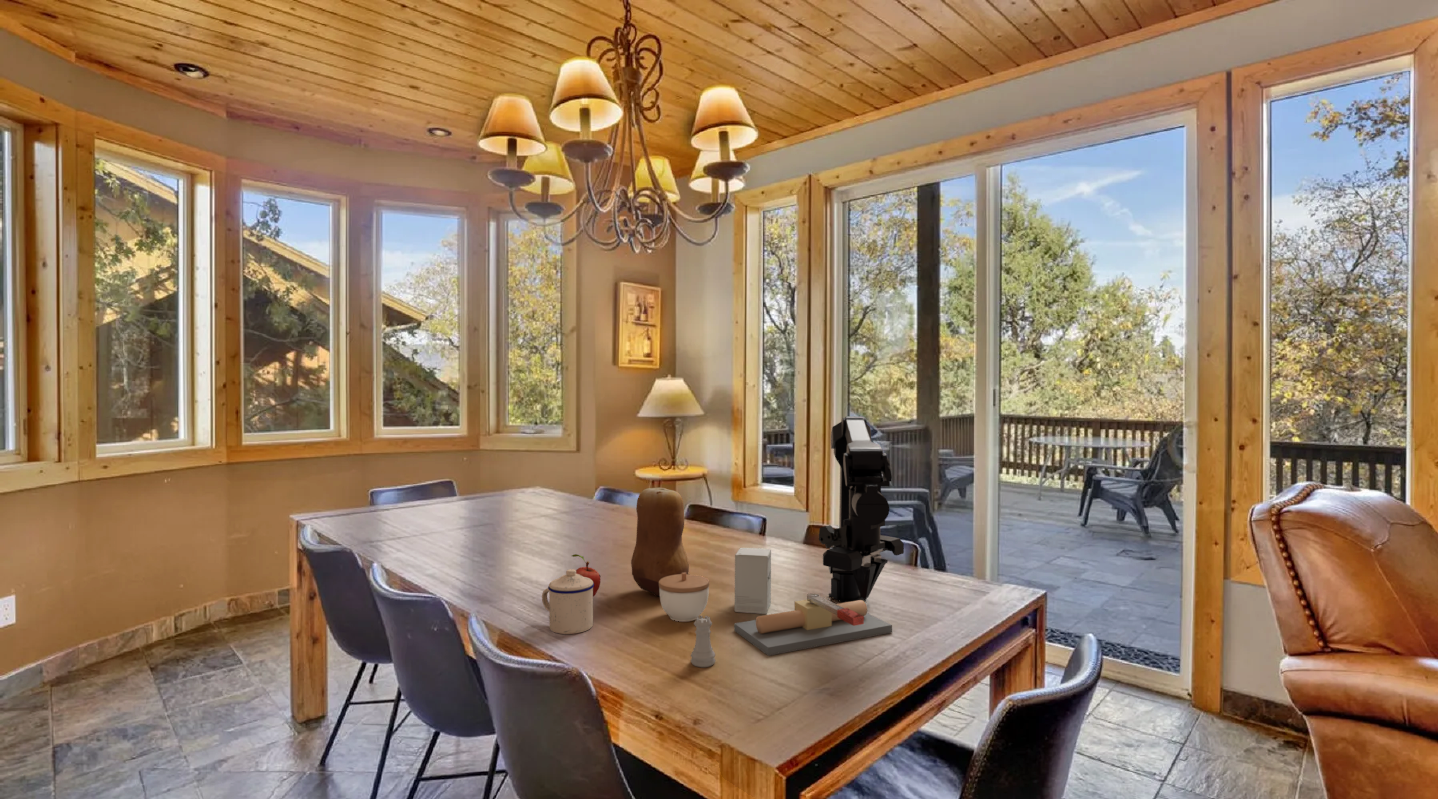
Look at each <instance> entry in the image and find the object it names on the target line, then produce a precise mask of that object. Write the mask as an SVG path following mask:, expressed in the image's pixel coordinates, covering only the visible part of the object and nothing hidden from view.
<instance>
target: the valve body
mask: <svg viewBox="0 0 1438 799" xmlns="http://www.w3.org/2000/svg"><path fill="white" fill-rule="evenodd" d="M836 604H837V605H839V606H841V607H843V608H848V609H850V610H852V611H854V612H856V613H858V614H860V615H862V616H864V624H861V625H855V626H853V625H851V624H849V623H847V622H845V621H844V620H842V619H840V618H838V617H837V615H835V614H833V613H832V612H830V611H828V610H826V609H824V608H822V607H820V606H818V605H816V604H814V603H812V602H809V601H807V599H802V600H796V601H794V610H791V611H790V610H789V611H784V612H783V611H782V612H778V613H771V614H762V615H758V616H756V618H755V619H753V620H747V621H739V622H735V623H733V624H734V626H733V628H734V632H735V633H736V634H738V635H739V636H740V637H742V638H744V639H745V640H746V641H747V642H749V643H750V644H751V645H753V646H754V647H756V648H757V649H759V650H760V652H761V651H762V652H763V654H765V655H766V656H769V657H770V656H774V655H775V656H776V655H778V654H779V655H781V654H784V653H790V652H795V651H799V650H805V649H806V650H807V649H812V648H817V647H821V646H827V645H833V644H837V643H842V642H843V643H844V642H849V641H853V640H854V641H855V640H861V639H864V638H869V637H875V636H881V635H885V634H891V633H890V632H892V633H893V624H891V623H889V622H888V621H885V620H883V619H881V618H879V617H877V616H875V615H872V614H870V613H868V607H867V606H868V605H867V604H866V603H865V600H858V601H851V602H845V603H842V602H840V603H836Z"/></svg>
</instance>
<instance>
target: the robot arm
mask: <svg viewBox="0 0 1438 799" xmlns="http://www.w3.org/2000/svg"><path fill="white" fill-rule="evenodd" d="M867 422H868V421H867V418H866V417H864V416H853V415H852V416H848V415H847V416H844V417H841V421H840V422H838V423H836V424H834V425H833V426H832V427H831V433H830V449H832V450H833V455H834V458H835V460H836V462H837V463H838V465H839V467H840V468H839V471H840V472H839V474H840V475H839V477H840V478H839V527H838V528H834V527H833V526H832V525H825V526H822V527H819V531H818V540H819V542H820V543H821V545H825V548H826V550H825V551H824V552H823V554H822V566H825V567H828V571H829V574H832V577H831V578H830V592H829V593H828V596H829V597H830V598H833V599H834V600H837V601H838V602H840V603H845V602H851V601H858V600H863V601H865V600H868V598H869V596H870V594H871V592H872V591H873V588H874V587H875V584H876V582H877V580H878V579H879V576H880V574H881V573H882V571H883V569H884V567H885V566H886V564H888V561H889V560H888V559H885V558H882V555H881V553H883V552H885V551H889V552H892V554H893V556H896V557H897V556H901V555H902V554H904V552H905V549H904V548H905V544H904V542H903V541H902V540H901V538H899V537H894V536H888V535H884V534H881V527H884V526H886V519H887V518H888V516H889V514H890V505H889V502H888V499H886V498H885V496H884V495H883V494H882V487H884V488H885V487H886V488H887V487H889V488H890V486H891V485H890V482H892V479H893V477H892V471H891V465H890V464H891V463H890V460H889V458H888V454H886V452H885V453H884V451H883V448H882V447H881V445H880V444H879V443H877V442H876V443H875V442H872V431H871V430H872V429H871V426H870V425H869V424H868V423H867Z"/></svg>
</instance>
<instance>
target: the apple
mask: <svg viewBox="0 0 1438 799" xmlns="http://www.w3.org/2000/svg"><path fill="white" fill-rule="evenodd" d="M571 557H573V558H574V557H576V558H577V557H580V558H581V559H582V560H583V561H584V563H585V566H581V567H578V568H577V569H575V570H576V574H579V575H581V576H583V577H587V578H590V579H591V580H592V581H593V583H594V587H593V598H594V597H595V596H596V595H597V593H598V591H599V588H600V587H601V576H602V575H600V573H599V572H598V571H597V570H596V569H594V568H592V567H589V564H590V561H588V560H586V561H585V558H584V556H582V555H581V554H580V555H579V554H577V553H575V554H573V555H571Z"/></svg>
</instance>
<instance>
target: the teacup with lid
mask: <svg viewBox="0 0 1438 799" xmlns="http://www.w3.org/2000/svg"><path fill="white" fill-rule="evenodd" d="M576 570H577V569H573V568H571V569H567V570H566V571H565V574H563V575H561V576H560V577H559V578H555V579H553V580H551V581H550V582H549V584H548V587H547V588H545V589H544V590H543V591H542V592H541V602H542V605H543V607H544V609H546V611H547V612H549V630H550V631H551V632H553V633H556V634H560V635H574V634H581V633H584V632H586V631H588V630H590V629H591V628H592V627H593V625H594V597H593V587H594V583H593V581H592V580H591V579H590V578H587V577H583V576H581V575H579V574H576ZM548 593H549V596H548ZM548 597H549V600H548Z"/></svg>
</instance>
